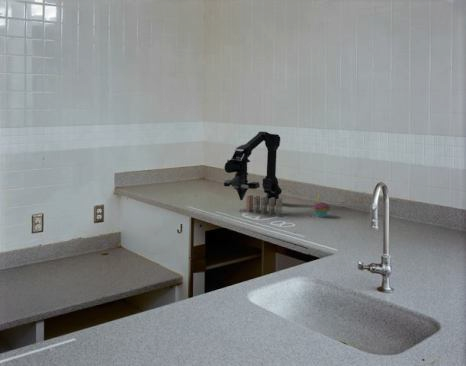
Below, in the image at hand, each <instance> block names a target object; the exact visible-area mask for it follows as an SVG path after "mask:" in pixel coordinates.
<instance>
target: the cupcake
mask: <svg viewBox="0 0 466 366" xmlns="http://www.w3.org/2000/svg"><path fill="white" fill-rule="evenodd" d="M317 197H318V202H317V203H315V204H314V205H312V206H313V207H312V209H313V210H314V212H315V215H316V217H318V218H326V217H327V215H328V211H330V210H331V208H330V207H331V206H330V205H329V204H328V203H326V202H321V198H320V197H321V196H320V194H318V195H317Z"/></svg>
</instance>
